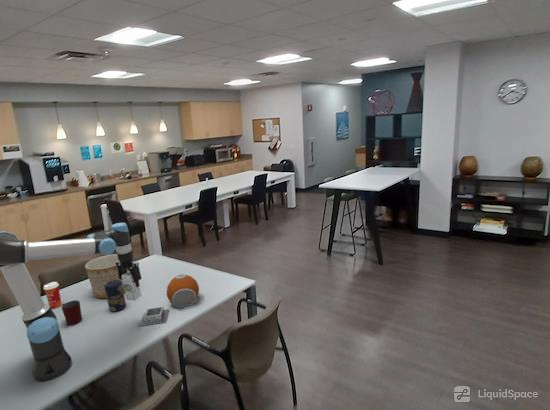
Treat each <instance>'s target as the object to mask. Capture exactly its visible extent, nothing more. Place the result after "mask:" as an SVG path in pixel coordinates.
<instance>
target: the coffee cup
mask: <svg viewBox="0 0 550 410" xmlns="http://www.w3.org/2000/svg"><path fill="white" fill-rule="evenodd" d="M59 285H60V284H59V283H58V282H57V281H52V282H49V283H46V284H44V285H43V291H44V292H45V296H46V299H47V302H48V305H49V306H50V307H51V309H54V310H55V309H57V308H59V306H60V307H62V299H61V293H60V288H59Z"/></svg>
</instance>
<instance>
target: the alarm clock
mask: <svg viewBox="0 0 550 410" xmlns="http://www.w3.org/2000/svg"><path fill="white" fill-rule="evenodd" d="M199 292H200V286H199V284H198V282H197V280H196V279H195V278H194V277H193V276H190V275H187V274H184V273H180V274H177V275H176V276H175V277H173V278H172V279H171V280H170V282H169V283H168V285H167V286H166V297H167V299H168V301H169V303H171V304H172V305H174V307H177V308H182V307H186V306H190V305H193V304H195V302H196V300H197V299H198V297H199V294H200V293H199Z"/></svg>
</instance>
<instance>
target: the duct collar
mask: <svg viewBox="0 0 550 410" xmlns="http://www.w3.org/2000/svg"><path fill="white" fill-rule="evenodd" d="M169 314H170V309H169V308H167V309H164V306H160V307H159V306H158V307H151V308H146V311H145V312H144V314H143V316H142V319H141V321H140V324H139V328H141V327H148V326H149V327H150V326H154V325H160V324H161V323H162V324H167V321H168V317H169Z"/></svg>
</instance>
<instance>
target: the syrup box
mask: <svg viewBox="0 0 550 410" xmlns="http://www.w3.org/2000/svg"><path fill="white" fill-rule="evenodd" d="M122 281H123V285H124V290H125V293H124V295H125V300H126V301H137V300H138V299H139V298H141V297H142V292H141V287H140V286H141V285H139V289H140V291H139V292H138V293H135V289H134V284H133V282H134V280H133V277H132V275H131V273H130V272H127V273H125V274H123V275H122Z"/></svg>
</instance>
